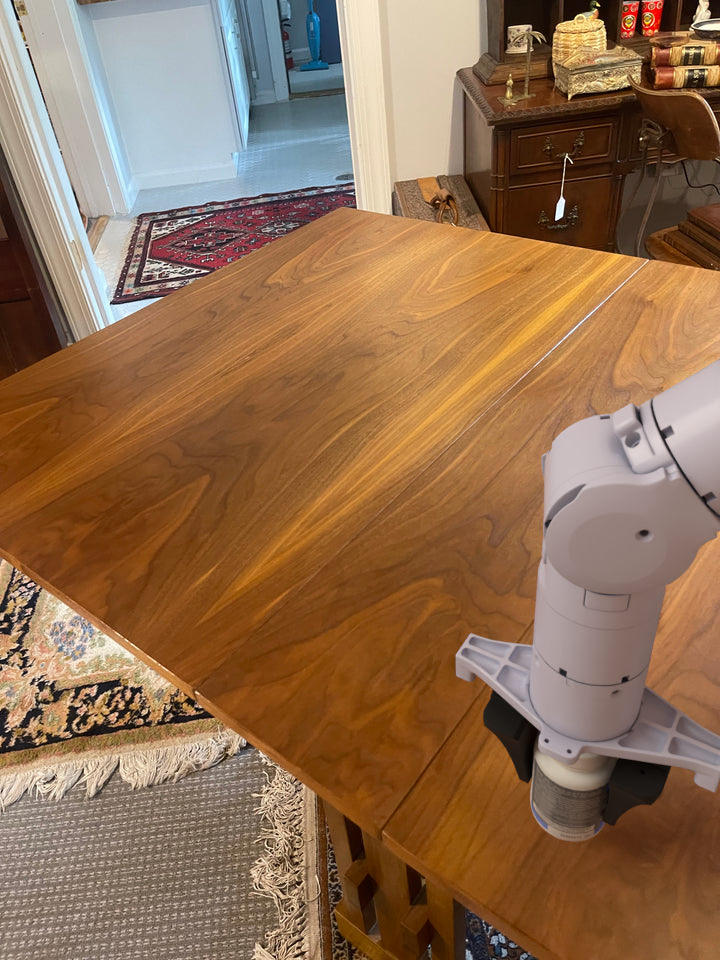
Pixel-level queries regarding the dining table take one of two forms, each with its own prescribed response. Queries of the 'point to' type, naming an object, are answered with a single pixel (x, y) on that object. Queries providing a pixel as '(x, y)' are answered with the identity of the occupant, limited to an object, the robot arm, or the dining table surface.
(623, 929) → the dining table surface
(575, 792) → the pill bottle
